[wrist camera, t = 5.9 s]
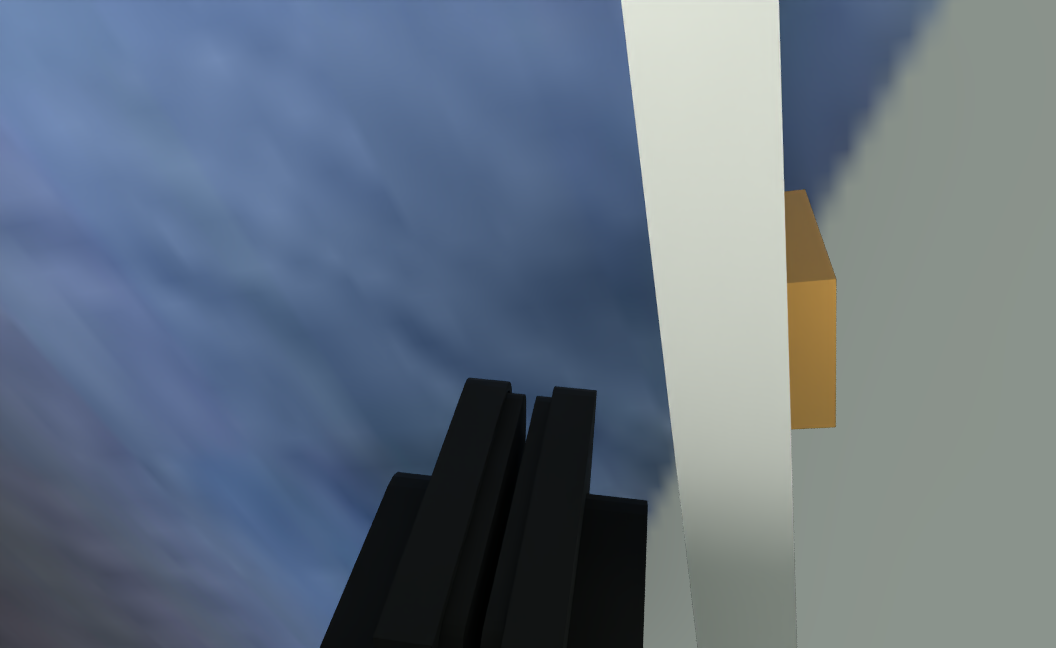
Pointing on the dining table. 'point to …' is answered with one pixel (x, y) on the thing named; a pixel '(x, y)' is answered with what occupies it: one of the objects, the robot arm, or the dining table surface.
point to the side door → (731, 301)
